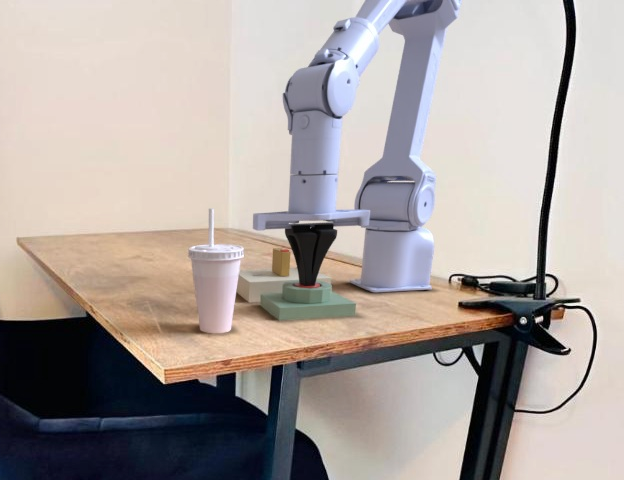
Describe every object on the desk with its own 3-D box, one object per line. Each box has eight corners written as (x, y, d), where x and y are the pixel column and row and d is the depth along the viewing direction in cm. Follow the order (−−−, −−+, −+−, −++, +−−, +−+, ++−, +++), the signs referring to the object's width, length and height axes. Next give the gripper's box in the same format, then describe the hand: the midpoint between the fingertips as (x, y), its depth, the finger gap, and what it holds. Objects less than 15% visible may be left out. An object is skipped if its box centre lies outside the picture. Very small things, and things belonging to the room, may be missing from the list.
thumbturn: (271, 271, 84) (272, 246, 82) (280, 271, 84) (281, 246, 83) (280, 276, 80) (282, 250, 79) (289, 276, 80) (290, 250, 79)
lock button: (313, 294, 74) (314, 281, 73) (322, 299, 71) (323, 286, 70) (290, 295, 74) (291, 282, 73) (299, 300, 71) (299, 287, 70)
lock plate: (306, 285, 88) (307, 265, 87) (330, 298, 79) (331, 276, 78) (233, 289, 86) (233, 269, 85) (249, 303, 78) (249, 280, 77)
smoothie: (190, 321, 69) (189, 207, 65) (241, 322, 69) (244, 205, 64) (187, 336, 63) (185, 211, 59) (243, 337, 63) (246, 210, 58)
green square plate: (329, 301, 77) (331, 277, 76) (355, 316, 70) (357, 289, 69) (260, 305, 76) (260, 280, 75) (279, 321, 69) (280, 293, 68)
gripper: (266, 177, 63) (262, 294, 67) (386, 173, 64) (374, 287, 69) (249, 176, 69) (246, 282, 74) (358, 172, 71) (349, 277, 75)
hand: (307, 284), depth 72 cm, fingers closed, pressing on lock button
